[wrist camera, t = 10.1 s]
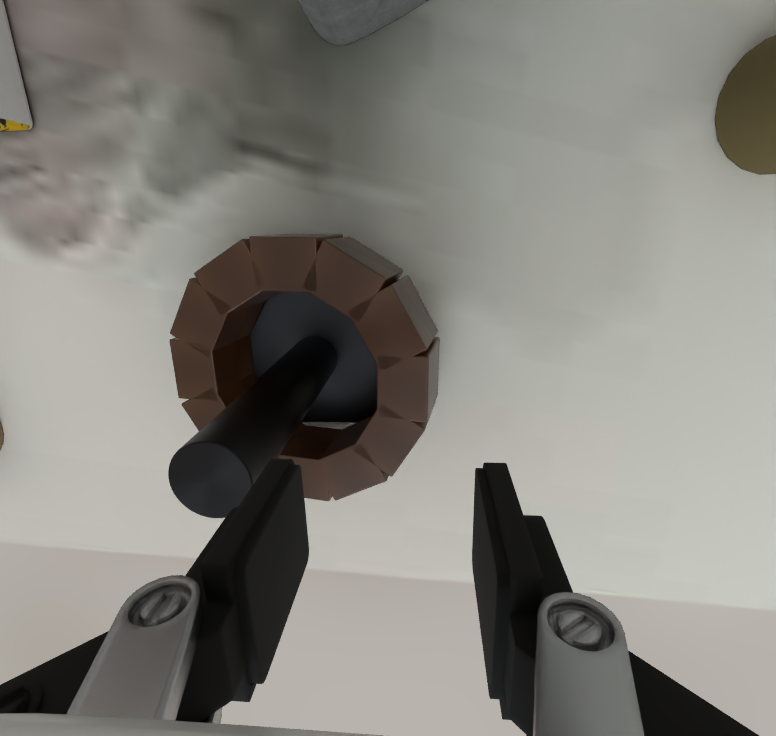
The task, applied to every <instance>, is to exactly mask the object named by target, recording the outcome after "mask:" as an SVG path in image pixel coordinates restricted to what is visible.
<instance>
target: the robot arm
mask: <svg viewBox="0 0 776 736" xmlns="http://www.w3.org/2000/svg"><path fill="white" fill-rule="evenodd" d="M308 556H309V545H308V534H307V524H306V513H305V502H304V492H303V481H302V471H301V466H300V465H295V463H294V461H293V459H271V460H270V461H269V462H268V464H267V465H266V467H265V468H264V470H263V471H262V473H261V474H260V475H259V477H258V478H257V480H256V481H255V483H254V484H253V486H252V487H251V489H250V490H249V492H248V493H247V495H246V496H245V498H244V499H243V501H242V502H241V504H240V505H239V507H235V508H233V509H232V510H231V511H230V512H229V514H228V515H227V516H226V518H225V519H224V521H223V522H222V524H221V525H220V527H219V528H218V529H217V531H216V532H215V534H214V535H213V537H212V538H211V540H210V541H209V542H208V544H207V545H206V547H205V548H204V550H203V551H202V552H201V554H200V555H199V557H198V558H197V560H196V561H195V563H194V564H193V566H192V567H191V568H190V570H189V571H188V573H187V574H186V576H182V575H180V576H178V575H177V576H168V577H163V578H159V579H157V580H155V581H152V582H150V583H147V584H146V585H144V586H143V587H141V588H139V589H138V590H136V591H135V592H134V593H133V594H132V595H131V596H130V597H129V598H128V599H127V600H126V601H125V603H124V604H123V606H122V607H121V609H120V611H119V613H118V614H117V616H116V618H115V620H114V623H113V624H112V626H111V628H110V630H109V631H108V632H106V633H104V634H102V635H100V636H98V637H96V638H94V639H92V640H90V641H88V642H86V643H84V644H82V645H80V646H78V647H76V648H74V649H72V650H70V651H68V652H65V653H64V654H61V655H59V656H58V657H56V658H53V659H51V660H49V661H48V662H45V663H43V664H42V665H39V666H37V667H36V668H33V669H31V670H30V671H27V672H25V673H23V674H21V675H19V676H17V677H15V678H14V679H11V680H9V681H7V682H5V683H3V684H1V685H0V736H382V735H368V734H355V733H340V732H328V731H314V730H301V729H286V728H273V727H259V726H245V725H230V724H220V722H221V717H222V707H223V706H225V705H226V704H227V703H229V702H230V701H243V702H249V701H250V700H251V697H252V694H253V691H254V689H255V686H256V684H262V683H264V681H265V679H266V677H267V674H268V671H269V668H270V666H271V663H272V660H273V657H274V655H275V652H276V649H277V646H278V643H279V641H280V638H281V635H282V632H283V629H284V627H285V624H286V621H287V618H288V615H289V613H290V610H291V607H292V604H293V601H294V599H295V596H296V593H297V590H298V587H299V584H300V582H301V579H302V576H303V573H304V571H305V568H306V565H307V562H308ZM472 565H473V574H474V582H475V590H476V597H477V604H478V613H479V621H480V628H481V636H482V643H483V651H484V659H485V667H486V675H487V682H488V689H489V696H490V698H491V699H499V700H500V706H501V713H502V719H507V720H512V721H513V722H514V723H515V724H516V725H517V726H518V727H519V728H520V729H521V730H522V731H523V732H524V733H526V736H759V735H757V734H755V733H754V732H753V731H751V730H749V729H748V728H747V727H745V726H743V725H742V724H740V723H739V722H737V721H736V720H734V719H733V718H731V717H730V716H728V715H727V714H725V713H723V712H722V711H720V710H719V709H717V708H716V707H714V706H713V705H711V704H710V703H708V702H706V701H705V700H703V699H702V698H700V697H699V696H697V695H696V694H694V693H693V692H691V691H690V690H688V689H686V688H685V687H684V686H682V685H680V684H679V683H677V682H676V681H674V680H673V679H671V678H670V677H668V676H667V675H665V674H664V673H662V672H660V671H659V670H657V669H656V668H654V667H653V666H651V665H650V664H648V663H646V662H645V661H644V660H642V659H640V658H639V657H637V656H636V655H634V654H633V653H631V652H630V651H628V648H627V643H626V638H625V633H624V630H623V628H622V625H621V623H620V621H619V620H618V619H617V617H616V616H615V615H614V613H612V611H610V610H609V609H608V608H607V607H605V606H604V605H603V604H602V603H600V602H598V601H596V600H594V599H592V598H591V597H587V596H585V595H581V594H578V593H573V591H572V589H571V586H570V584H569V581H568V578H567V576H566V573H565V571H564V568H563V566H562V563H561V561H560V558H559V556H558V553H557V551H556V548H555V546H554V543H553V540H552V538H551V535H550V533H549V530H548V528H547V525H546V523H545V520H544V519H543V517H542V516H528V515H523V513H522V510H521V507H520V504H519V501H518V498H517V495H516V492H515V489H514V486H513V483H512V479H511V476H510V473H509V470H508V467H507V465H506V463H484V465H483V468H476V470H475V493H474V521H473V548H472Z"/></svg>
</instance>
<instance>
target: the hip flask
mask: <svg viewBox="0 0 776 736" xmlns="http://www.w3.org/2000/svg"><path fill="white" fill-rule="evenodd" d="M426 1H427V0H298V2H299V3H300V5H301V7H302V9H303V10H304V12H305V14H306V15H307V17H308V19H309V21H310V22H311V24H312V26H313V27H314V29H315V30H316V32H317V33H318V34H319V35H320V36H321V37H322V38H323V39H324V40H326V41H327V42H330V43H332V44H336V45H346V44H350V43H353V42H355V41H357V40H359V39H361V38H363V37H365V36H367V35H369V34H371V33H373V32H375V31H377V30H379V29H380V28H382V27H384V26H386V25H388V24H390V23H391V22H393V21H395V20H397V19H399V18H400V17H402V16H403V15H405V14H407V13H408V12H410V11H412V10H413V9H415V8H417V7H418V6H420V5H421V4H423V3H424V2H426Z"/></svg>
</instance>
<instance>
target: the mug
mask: <svg viewBox="0 0 776 736" xmlns="http://www.w3.org/2000/svg"><path fill="white" fill-rule="evenodd" d="M2 444H3V431H2V427H1V423H0V449H1V446H2Z"/></svg>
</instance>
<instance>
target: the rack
mask: <svg viewBox="0 0 776 736" xmlns="http://www.w3.org/2000/svg"><path fill="white" fill-rule="evenodd" d="M250 344H251V354H252V364H253V372H254V374H255V376H256V377H257V380H256V381H255V382H254V383H252V384H251V385H250V386H249V387H248V388H247V389H246V390H245V391H244V392H242V393H241V394H240V395H239V396H238V397H237V398H236V399H235V400H234V401H232V402H231V403H230V404H229V405H228V406H227V407H226V408H225V409H224V410H222V411H221V412H220V413H219V414H218V415H217V416H216V417H215V418H214V419H212V420H211V421H210V422H209V423H208V424H207V425H206V426H205V427H204V428H202V429H201V430H200V431H199V432H198V433H197V434H196V435H195V436H194V437H192V438H191V439H190V440H189V441H188V442H187V443H186V444H185V445H184V446H182V447H181V448H180V449H179V450H178V451H177V452H176V453H175V455H174V456H173V458H172V460H171V462H170V465H169V474H168V476H169V482H170V486H171V488H172V490H173V492H174V494H175V495H176V497H177V498H178V499H179V501H180V502H181V503H182V504H183V505H185V506H186V507H187V508H188V509H190V510H191V511H193V512H195V513H197V514H199V515H202V516H205V517H210V518H225V517H226V516H227V515H228V514H229V512H230V511H231V510H232V509H233V508H235V507H239V505H240V504H241V502H242V501H243V499H244V498H245V496H246V495H247V493H248V492H249V490H250V489H251V487H252V486H253V484H254V483H255V481H256V480H257V478H258V477H259V475H260V474H261V473H262V471H263V470H264V468H265V467H266V465H267V464H268V462H269V461H270V460H271V459H277V458H278V457H279V455H280V454H281V452H282V450H283V449H284V447H285V446H286V444H287V443H288V441H289V440H290V438H291V437H292V435H293V433H294V432H295V430H296V429H297V427H298V426H299V424H300V423H301V422H352V423H358V422H360V421H362V420H364V419H366V418H369V417H371V416H373V414H374V413H375V411H376V409H377V363H376V361H375V360H374V358H373V356H372V354H371V353H370V351H369V349H368V347H367V346H366V344H365V342H364V340H363V339H362V337H361V335H360V333H359V332H358V330H357V328H356V326H355V325H354V323H353V321H352V319H350V318H349V317H347V316H346V315H344V314H342V313H341V312H339V311H338V310H336V309H335V308H333V307H331V306H330V305H328V304H327V303H325V302H324V301H322V300H320V299H319V298H317V297H316V296H314V295H313V294H311V293H308V292H278V293H277V294H275V295H273V296H272V297H270V298H269V299H267V300H265V301H264V303H263V306H262V308H261V310H260V312H259V315H258V317H257V319H256V321H255V324H254V326H253V328H252V330H251V332H250Z"/></svg>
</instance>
